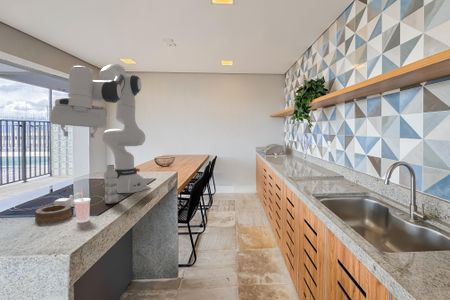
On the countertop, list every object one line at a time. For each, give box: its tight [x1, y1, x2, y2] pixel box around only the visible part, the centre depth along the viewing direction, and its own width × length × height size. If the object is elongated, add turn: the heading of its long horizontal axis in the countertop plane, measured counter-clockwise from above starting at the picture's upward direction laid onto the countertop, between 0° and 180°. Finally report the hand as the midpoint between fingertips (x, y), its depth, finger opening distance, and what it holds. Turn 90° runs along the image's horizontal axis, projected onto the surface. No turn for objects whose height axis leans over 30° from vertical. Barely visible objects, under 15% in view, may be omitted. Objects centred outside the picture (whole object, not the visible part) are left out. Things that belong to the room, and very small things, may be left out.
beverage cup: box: [74, 187, 91, 223], centre depth 102 cm, size 6×6×14 cm
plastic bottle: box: [103, 164, 119, 205], centre depth 126 cm, size 6×7×20 cm
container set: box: [53, 191, 86, 208], centre depth 123 cm, size 20×5×6 cm, turn 4°
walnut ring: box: [34, 204, 73, 224], centre depth 106 cm, size 12×12×4 cm
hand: (79, 136), depth 102 cm, fingers open, 8 cm apart
